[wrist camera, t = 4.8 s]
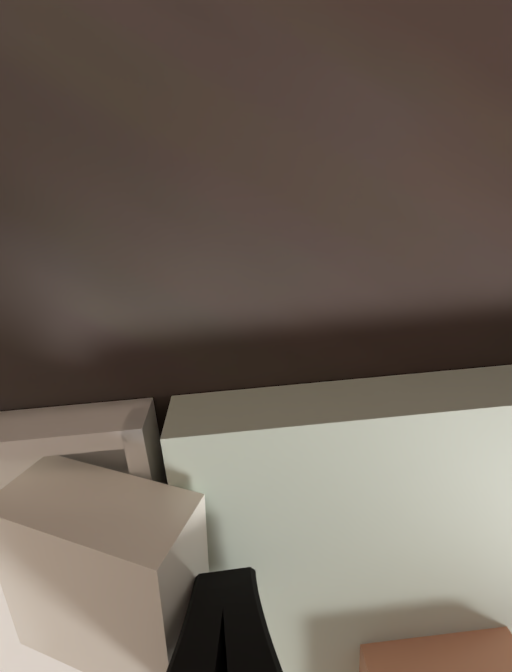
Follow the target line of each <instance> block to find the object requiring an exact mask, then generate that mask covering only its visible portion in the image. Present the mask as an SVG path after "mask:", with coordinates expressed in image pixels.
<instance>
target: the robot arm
mask: <svg viewBox="0 0 512 672" xmlns="http://www.w3.org/2000/svg"><path fill="white" fill-rule="evenodd" d="M166 672H283V671H282V668H281V665H280V662H279V659H278V657H277V654H276V651H275V648H274V645H273V642H272V639H271V636H270V633H269V630H268V626H267V623H266V620H265V616H264V613H263V609H262V605H261V601H260V596H259V592H258V586H257V579H256V571H255V570H254V569H253V568H251V567H246V568H238V569H230V570H223V571H215V572H208V573H200V574H198V575H197V576H196V577H195V580H194V585H193V589H192V593H191V597H190V601H189V604H188V608H187V611H186V615H185V618H184V621H183V624H182V628H181V631H180V634H179V637H178V640H177V643H176V646H175V649H174V651H173V654H172V657H171V660H170V663H169V665H168V668H167V671H166Z"/></svg>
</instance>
